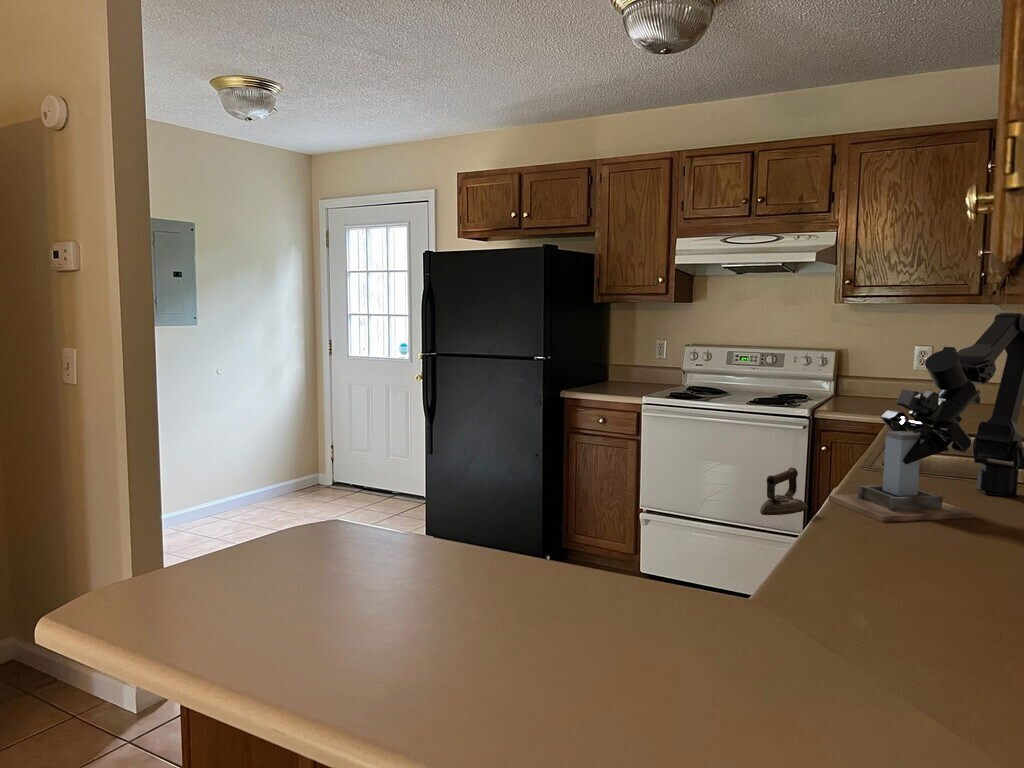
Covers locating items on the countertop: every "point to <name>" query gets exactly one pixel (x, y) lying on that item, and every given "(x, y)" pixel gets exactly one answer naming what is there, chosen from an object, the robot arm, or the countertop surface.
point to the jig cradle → (899, 505)
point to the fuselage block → (900, 464)
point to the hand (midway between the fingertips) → (895, 460)
